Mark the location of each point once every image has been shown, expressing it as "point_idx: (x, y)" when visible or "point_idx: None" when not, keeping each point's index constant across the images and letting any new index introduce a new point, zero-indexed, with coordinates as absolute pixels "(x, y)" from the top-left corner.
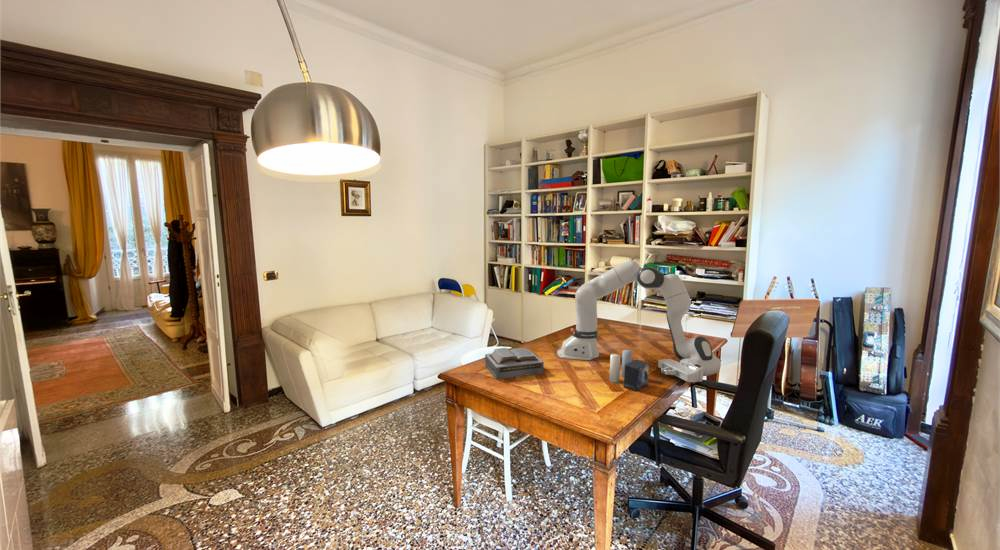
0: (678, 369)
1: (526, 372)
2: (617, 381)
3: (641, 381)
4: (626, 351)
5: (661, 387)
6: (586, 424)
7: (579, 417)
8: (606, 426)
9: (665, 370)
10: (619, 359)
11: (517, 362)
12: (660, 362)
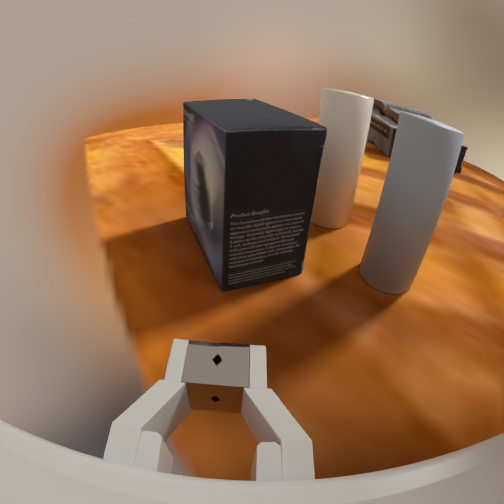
0: (52, 453)
1: (373, 136)
2: None
3: (191, 199)
4: (426, 119)
5: (146, 333)
6: (130, 130)
7: (155, 129)
8: (102, 139)
9: (189, 341)
10: (325, 105)
11: (379, 114)
12: (480, 443)
